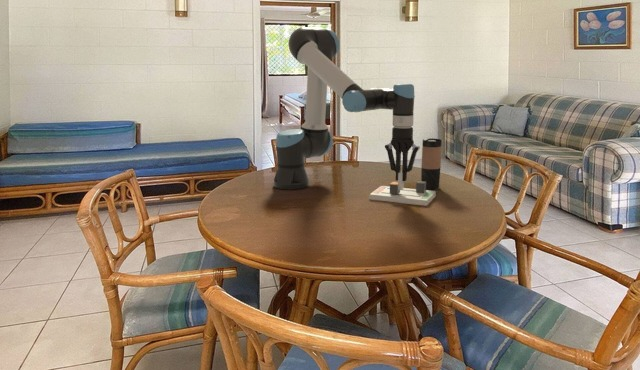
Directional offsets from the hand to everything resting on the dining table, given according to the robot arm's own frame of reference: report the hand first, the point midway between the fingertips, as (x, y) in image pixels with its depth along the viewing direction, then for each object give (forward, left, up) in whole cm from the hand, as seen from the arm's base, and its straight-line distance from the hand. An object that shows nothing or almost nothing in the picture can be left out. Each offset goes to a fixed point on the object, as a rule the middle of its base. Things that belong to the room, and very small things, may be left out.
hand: (400, 189), depth 184 cm
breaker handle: (-2, 0, -2) cm, 3 cm away
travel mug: (+6, +22, -4) cm, 23 cm away
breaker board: (0, +3, -4) cm, 5 cm away
